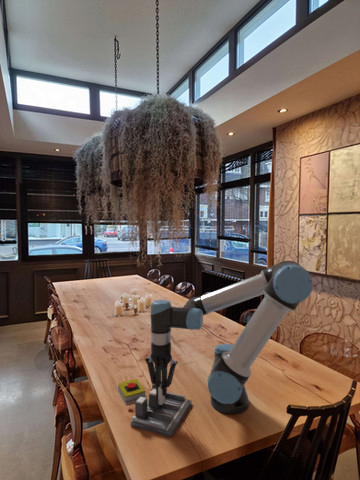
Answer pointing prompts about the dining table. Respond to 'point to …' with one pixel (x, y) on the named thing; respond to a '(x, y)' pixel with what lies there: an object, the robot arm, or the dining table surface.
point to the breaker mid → (153, 399)
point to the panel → (164, 415)
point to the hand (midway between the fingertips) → (161, 402)
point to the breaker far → (154, 386)
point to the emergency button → (131, 391)
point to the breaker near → (141, 408)
